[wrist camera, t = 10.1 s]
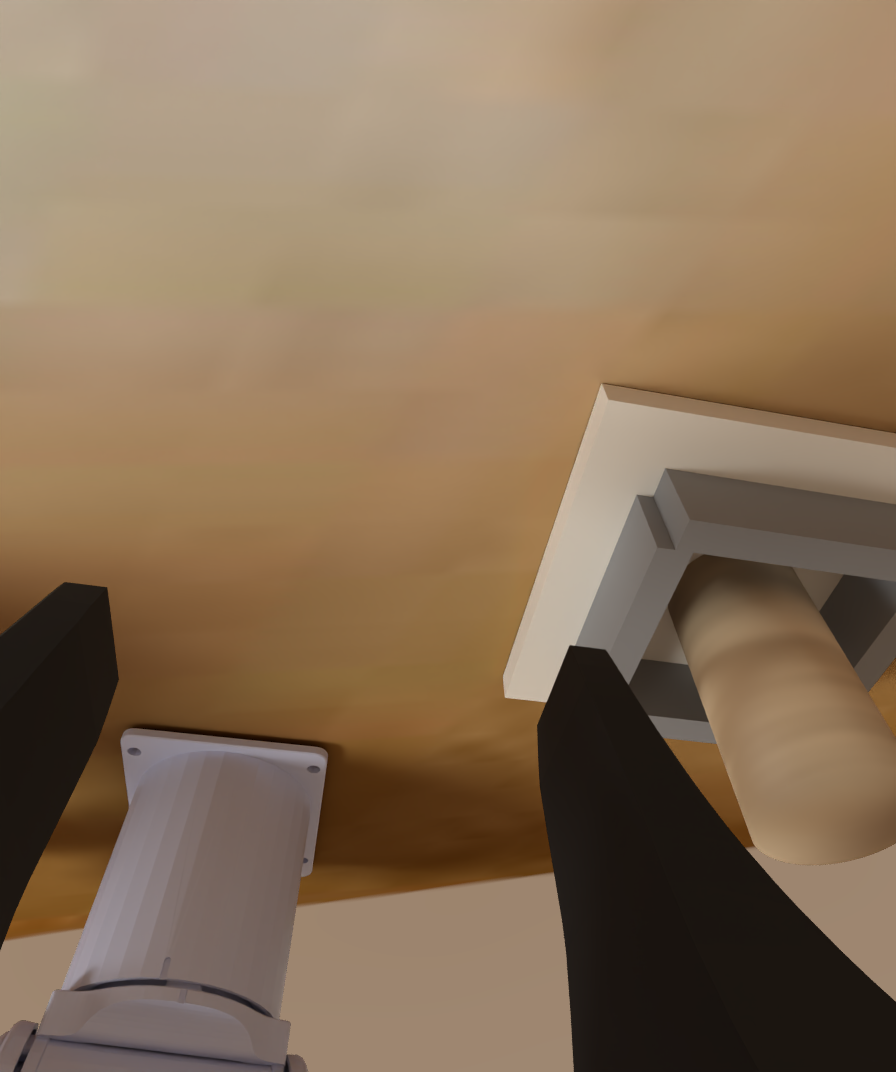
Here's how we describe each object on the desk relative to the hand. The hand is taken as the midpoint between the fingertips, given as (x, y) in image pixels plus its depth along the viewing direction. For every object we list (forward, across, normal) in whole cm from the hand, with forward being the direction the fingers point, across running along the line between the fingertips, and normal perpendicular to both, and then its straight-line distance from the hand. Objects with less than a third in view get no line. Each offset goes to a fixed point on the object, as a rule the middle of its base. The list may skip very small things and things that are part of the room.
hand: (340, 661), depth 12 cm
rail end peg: (+9, -12, +5) cm, 16 cm away
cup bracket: (+10, -12, +5) cm, 17 cm away
